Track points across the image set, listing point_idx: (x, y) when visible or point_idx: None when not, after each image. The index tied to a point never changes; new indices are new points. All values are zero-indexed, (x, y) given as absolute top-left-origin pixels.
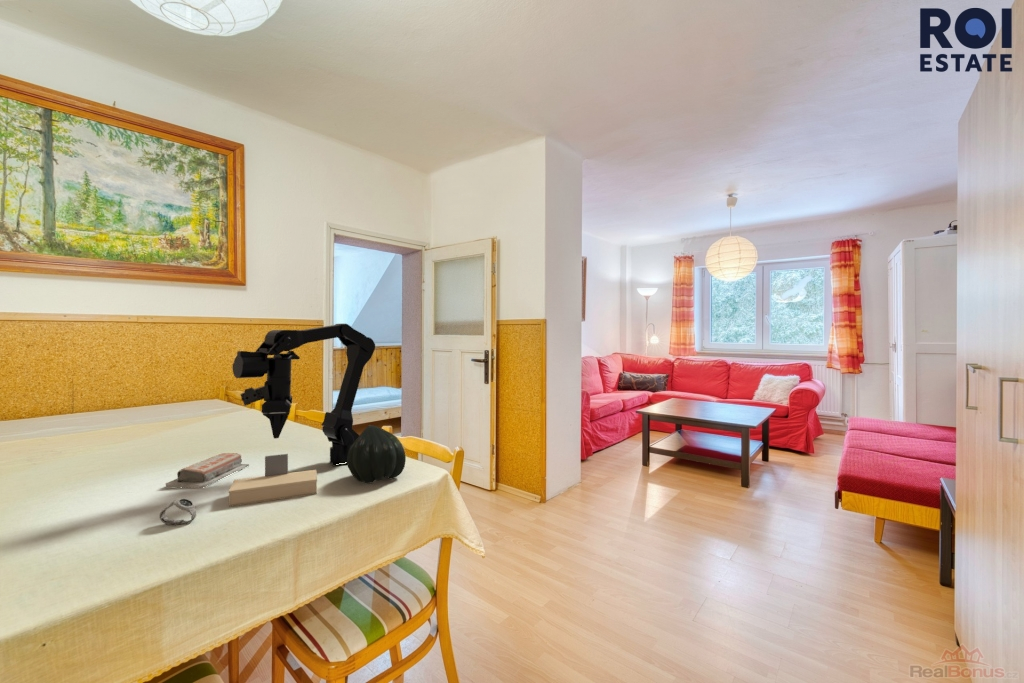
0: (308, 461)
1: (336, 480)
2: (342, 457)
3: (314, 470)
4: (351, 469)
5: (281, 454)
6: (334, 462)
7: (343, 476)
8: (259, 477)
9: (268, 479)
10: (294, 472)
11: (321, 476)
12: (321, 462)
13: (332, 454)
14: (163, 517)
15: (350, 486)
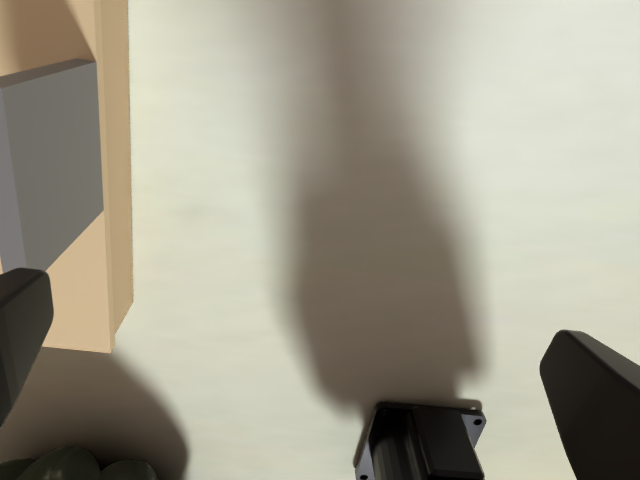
0: (565, 325)
1: (138, 378)
2: (378, 467)
3: (95, 344)
4: (22, 477)
5: (17, 238)
6: (402, 419)
7: (186, 409)
8: (68, 14)
9: None
10: (103, 247)
11: (241, 337)
12: (492, 371)
13: (420, 450)
14: None
15: (20, 407)
